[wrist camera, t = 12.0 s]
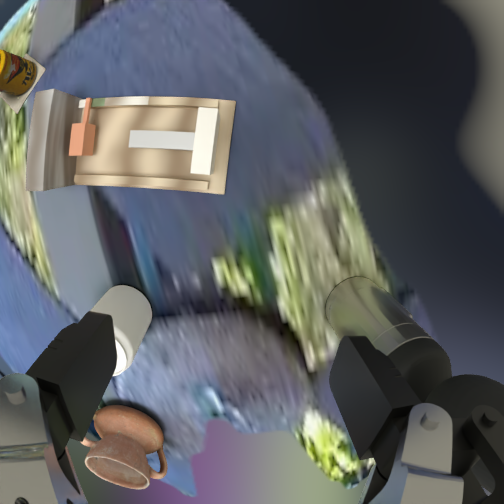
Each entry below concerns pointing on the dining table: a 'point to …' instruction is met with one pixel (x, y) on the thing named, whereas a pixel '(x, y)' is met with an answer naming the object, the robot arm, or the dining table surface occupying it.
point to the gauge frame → (121, 143)
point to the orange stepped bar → (83, 134)
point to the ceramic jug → (125, 447)
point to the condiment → (17, 78)
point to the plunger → (186, 140)
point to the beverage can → (126, 321)
